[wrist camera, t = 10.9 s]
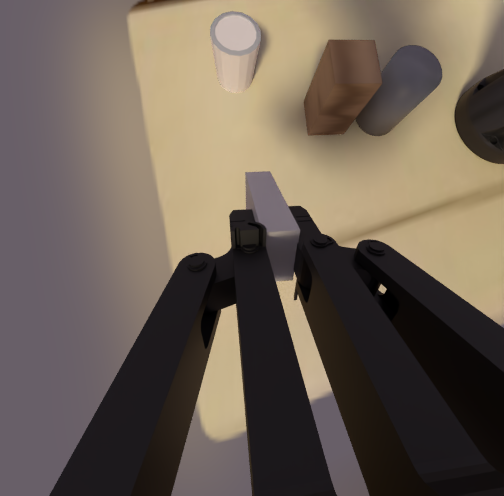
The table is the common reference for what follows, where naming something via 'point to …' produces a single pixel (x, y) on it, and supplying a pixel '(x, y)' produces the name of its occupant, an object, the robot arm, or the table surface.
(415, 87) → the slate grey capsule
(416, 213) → the table surface
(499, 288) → the table surface
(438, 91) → the table surface
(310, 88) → the walnut block
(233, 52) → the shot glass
